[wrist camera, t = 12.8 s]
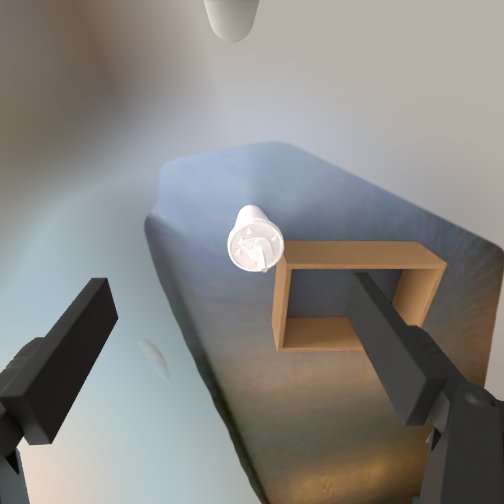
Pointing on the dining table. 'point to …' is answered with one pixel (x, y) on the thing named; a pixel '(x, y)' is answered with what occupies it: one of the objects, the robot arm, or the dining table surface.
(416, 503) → the dark teal curved piece
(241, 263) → the smoothie
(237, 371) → the dining table surface
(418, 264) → the wooden box
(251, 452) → the dining table surface
